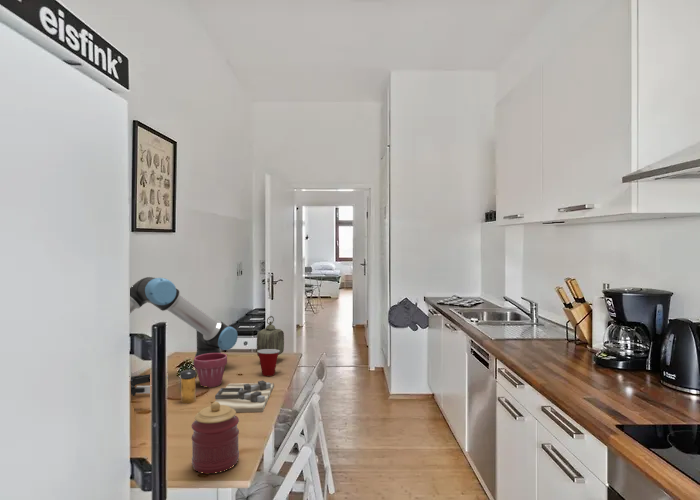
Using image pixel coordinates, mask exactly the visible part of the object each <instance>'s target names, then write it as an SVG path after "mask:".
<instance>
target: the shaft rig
mask: <svg viewBox="0 0 700 500" xmlns="http://www.w3.org/2000/svg"><path fill="white" fill-rule="evenodd" d="M274 387H275V383H274V382H267V381H265V380H264V379H263V380H258V381H257V382H253V383H252V382H251V383H249V382H247V383H245V382H244V383H242V382H241V383H228V384H227V385H226V387H221V388H219V390H218V391H217V393H216V394H215V395H214V396H215V398H214V399H215V401H214V402H219V404H220V405H226V406H229V407H230V408H232V409H234V410H235V411H236V414H237V413H263V412H264V410H265V407H266V405H267V403H268V400H269V399H270V396H271V393H272V391H273V389H274Z"/></svg>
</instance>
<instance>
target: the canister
mask: <svg viewBox="0 0 700 500" xmlns="http://www.w3.org/2000/svg"><path fill="white" fill-rule="evenodd" d="M236 414H237V413H236V411H235V410H234V409H232V408H230V407H229V406H226V405H220V404H219V402H215V401H213V402H212V403H211V405H209V406H206V407H204V408H202V409H201V410H200V411H198V412H197V413H196V414H195V415H194V419H195V420H193V422H192V423H191V429H192V431H193V434H192V435H191V441H192V443H191V445H192V448H191V449H192V450H191V452H192V454H191V455H192V457H191V465H192V468H194V469H195V470H196V471H198V472H203V473H215V472H220V471H224V470H226V469H229V468H230V467H232V466H233V465H235V464H236V463H237V464H238V462H239V458H240V450H239V434H240V430H239V428H238V424H239V422H240V419H239V417H238V416H237V415H236ZM237 461H238V462H237ZM237 464H236V465H237ZM236 465H235V466H236ZM194 469H193V470H194ZM195 470H194V471H195ZM229 470H230V469H229ZM196 471H195V472H196ZM198 472H197V473H198ZM224 472H225V471H224Z"/></svg>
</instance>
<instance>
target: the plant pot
mask: <svg viewBox="0 0 700 500" xmlns="http://www.w3.org/2000/svg"><path fill="white" fill-rule="evenodd" d="M193 361H194V366H193V367H194V368H196V374H197V377H198V380H199V385H200V386H201V385H202V386H207V387H209V389H210V388H215V387H218V386H221V384H222V382H223V378H224V373H225V366H226V365H227V364H228V355H227V354H226V353H223V352H221V353H208V354H202V355H199V356H196V357H195V356H194V358H193Z"/></svg>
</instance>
